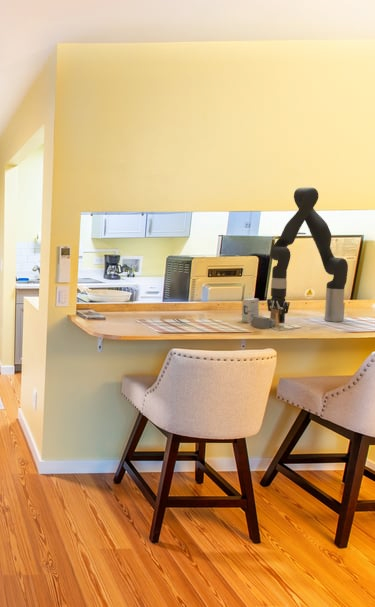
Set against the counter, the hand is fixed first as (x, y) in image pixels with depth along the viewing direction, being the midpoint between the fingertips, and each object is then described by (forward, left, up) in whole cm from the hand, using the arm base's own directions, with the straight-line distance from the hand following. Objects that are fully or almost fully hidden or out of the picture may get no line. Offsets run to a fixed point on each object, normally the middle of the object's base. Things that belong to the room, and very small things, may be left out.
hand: (277, 320), depth 289 cm
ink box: (+5, -15, -3) cm, 16 cm away
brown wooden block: (0, 0, -1) cm, 1 cm away
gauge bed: (+3, +2, -2) cm, 5 cm away
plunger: (+5, +3, -2) cm, 6 cm away
